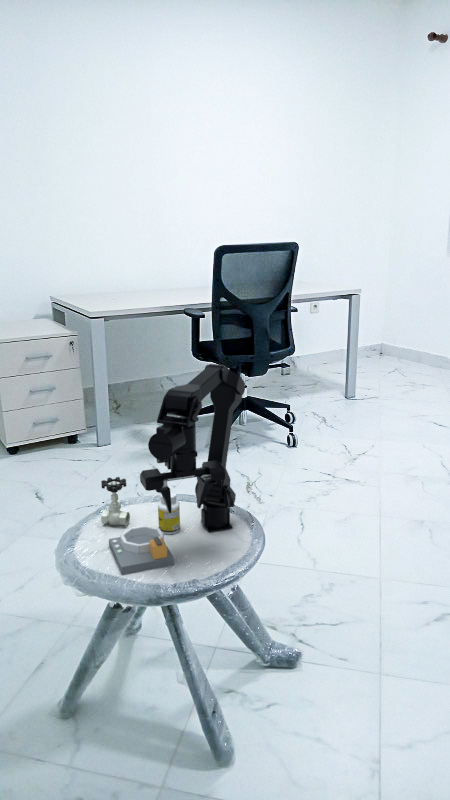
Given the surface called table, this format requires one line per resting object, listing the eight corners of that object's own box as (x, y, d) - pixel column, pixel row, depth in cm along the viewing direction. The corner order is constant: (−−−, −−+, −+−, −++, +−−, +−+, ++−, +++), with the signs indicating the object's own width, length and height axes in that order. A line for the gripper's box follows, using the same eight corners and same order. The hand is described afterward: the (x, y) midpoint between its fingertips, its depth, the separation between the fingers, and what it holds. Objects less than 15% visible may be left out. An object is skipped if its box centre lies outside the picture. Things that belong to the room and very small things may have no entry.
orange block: (162, 549, 146) (162, 535, 145) (166, 557, 142) (166, 542, 142) (149, 552, 145) (149, 537, 144) (154, 559, 141) (153, 545, 140)
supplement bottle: (159, 525, 162) (157, 490, 160) (180, 525, 163) (179, 489, 160) (158, 535, 157) (157, 499, 155) (180, 534, 157) (179, 498, 155)
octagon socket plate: (157, 538, 156) (156, 523, 155) (174, 565, 143) (173, 549, 142) (109, 546, 152) (108, 531, 150) (121, 575, 139) (121, 558, 138)
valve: (123, 531, 159) (121, 487, 156) (99, 529, 160) (96, 485, 157) (132, 520, 165) (130, 477, 162) (108, 518, 167) (106, 475, 163)
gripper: (210, 429, 150) (210, 490, 154) (133, 439, 143) (135, 502, 147) (227, 444, 140) (227, 509, 144) (145, 455, 133) (147, 522, 137)
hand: (184, 510), depth 143 cm, fingers open, 7 cm apart
